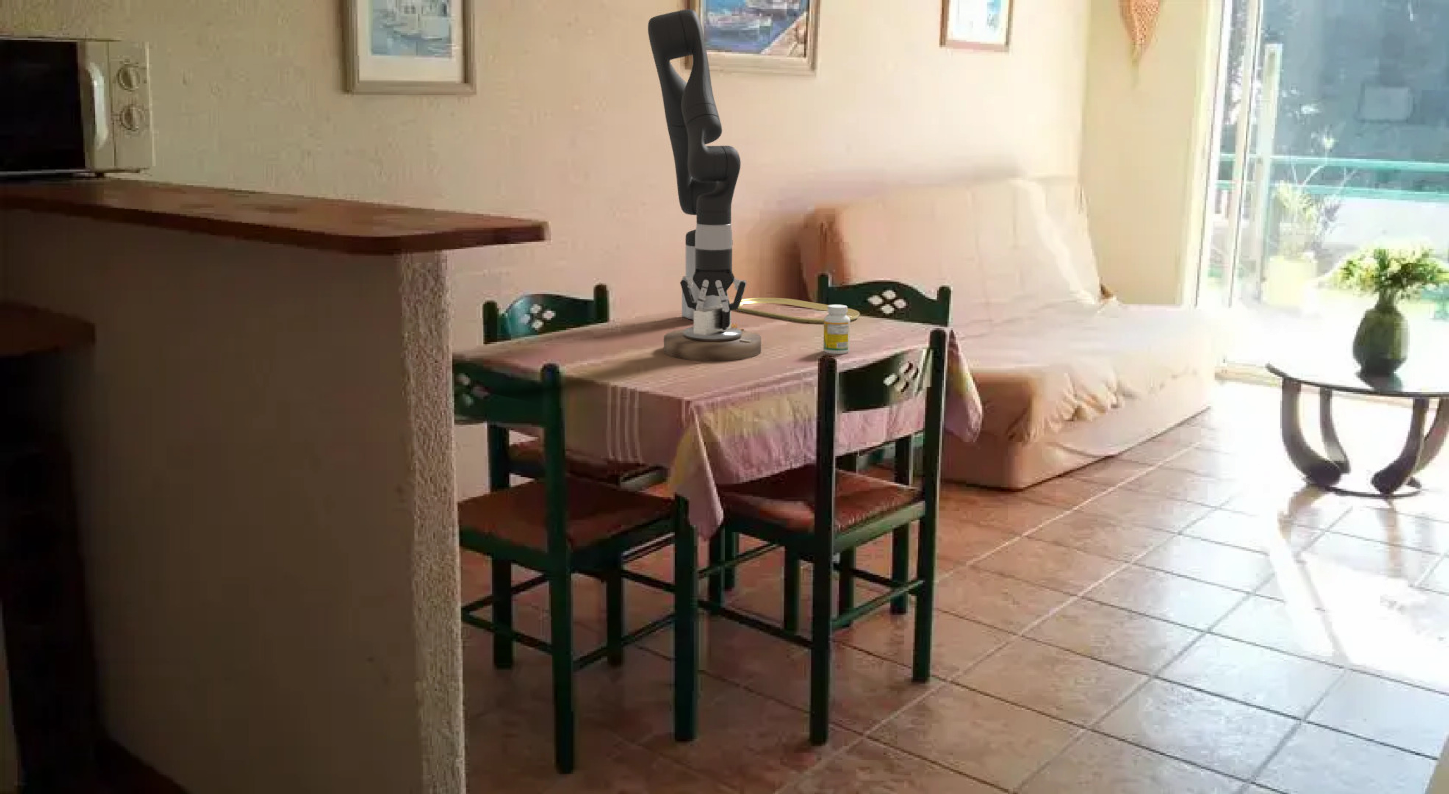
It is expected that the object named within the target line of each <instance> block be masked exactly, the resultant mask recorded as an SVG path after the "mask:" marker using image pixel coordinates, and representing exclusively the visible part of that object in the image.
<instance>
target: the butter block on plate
mask: <svg viewBox="0 0 1449 794" xmlns="http://www.w3.org/2000/svg"><path fill="white" fill-rule="evenodd" d="M723 311H724V309H723V306H722V304H717V305H713V306H709V307H706V308H702V309H698V310H695V311H694V320H693V326H691V327H688V328H685V330H684V329H683V330H684V331H683V336H684V337H685V338H688V339H691V340H698V341H729V340H735V339H739V338H741V337H742V331H741V330H740V329H741V328H740V329H739V328H738V324H737V323H732V310H731V311H730V326H729V327H727V329H726V330H722V313H723Z"/></svg>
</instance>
